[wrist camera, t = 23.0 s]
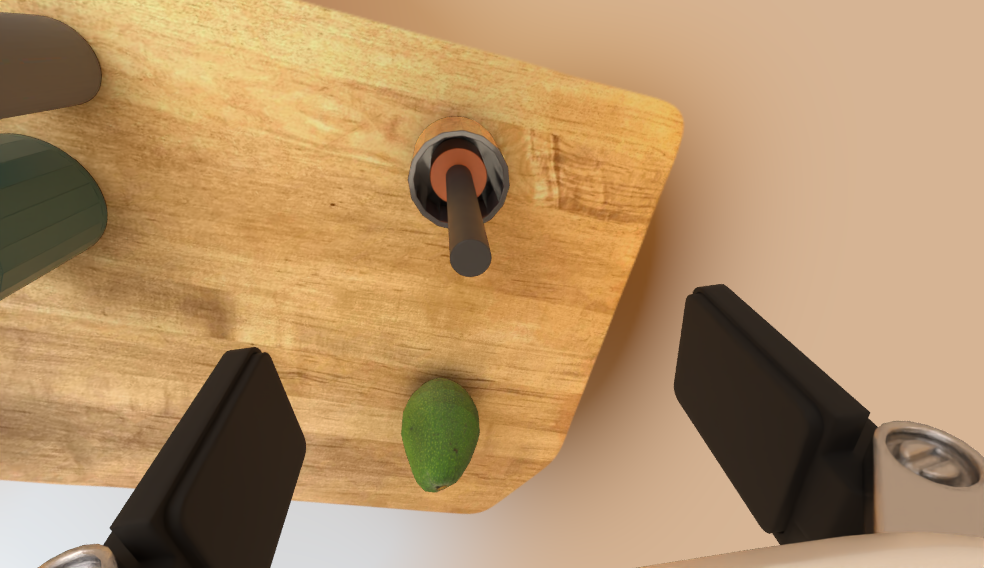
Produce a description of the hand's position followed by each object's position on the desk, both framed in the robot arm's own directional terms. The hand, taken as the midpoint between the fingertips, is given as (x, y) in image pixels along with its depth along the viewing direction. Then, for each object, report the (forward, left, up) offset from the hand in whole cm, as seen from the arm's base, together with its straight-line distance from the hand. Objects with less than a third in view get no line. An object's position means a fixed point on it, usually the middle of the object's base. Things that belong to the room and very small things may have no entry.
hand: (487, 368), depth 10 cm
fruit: (+27, -5, -31) cm, 42 cm away
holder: (+2, 0, -31) cm, 31 cm away
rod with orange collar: (+3, 0, -31) cm, 31 cm away
